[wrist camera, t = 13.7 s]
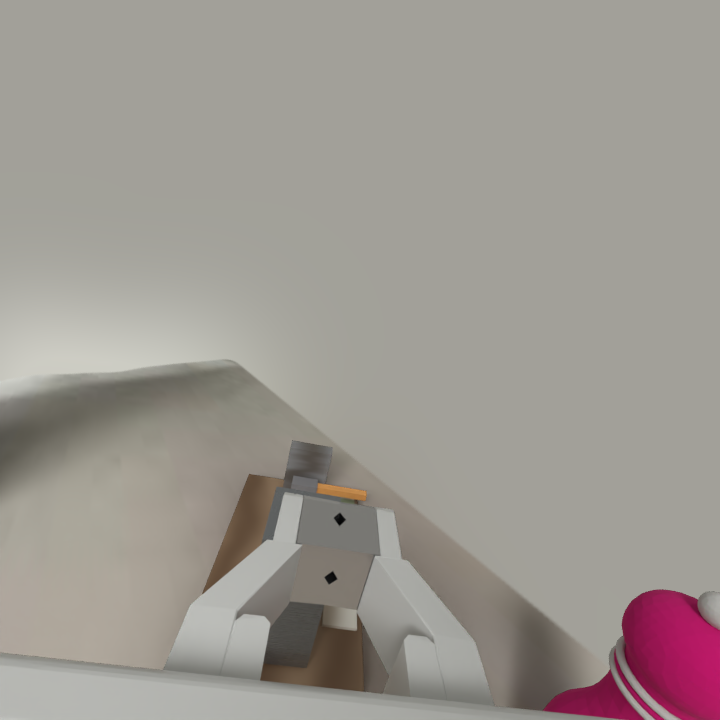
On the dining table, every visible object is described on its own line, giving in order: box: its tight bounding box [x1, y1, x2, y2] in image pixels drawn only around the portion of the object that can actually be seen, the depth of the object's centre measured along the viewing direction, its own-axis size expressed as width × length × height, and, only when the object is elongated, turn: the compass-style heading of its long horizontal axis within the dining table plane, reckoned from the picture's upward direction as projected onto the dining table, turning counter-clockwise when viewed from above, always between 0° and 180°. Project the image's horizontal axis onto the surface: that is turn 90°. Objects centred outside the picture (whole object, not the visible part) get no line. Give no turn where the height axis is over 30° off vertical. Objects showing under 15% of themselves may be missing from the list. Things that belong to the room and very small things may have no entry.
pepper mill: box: [543, 590, 720, 720], centre depth 23 cm, size 7×7×20 cm
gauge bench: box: [202, 440, 364, 692], centre depth 36 cm, size 14×22×8 cm, turn 1°
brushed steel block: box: [261, 487, 341, 668], centre depth 30 cm, size 5×10×12 cm, turn 2°
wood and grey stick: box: [291, 476, 367, 501], centre depth 44 cm, size 9×2×2 cm, turn 91°
